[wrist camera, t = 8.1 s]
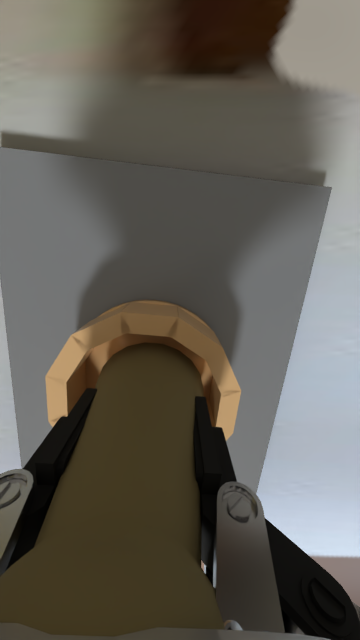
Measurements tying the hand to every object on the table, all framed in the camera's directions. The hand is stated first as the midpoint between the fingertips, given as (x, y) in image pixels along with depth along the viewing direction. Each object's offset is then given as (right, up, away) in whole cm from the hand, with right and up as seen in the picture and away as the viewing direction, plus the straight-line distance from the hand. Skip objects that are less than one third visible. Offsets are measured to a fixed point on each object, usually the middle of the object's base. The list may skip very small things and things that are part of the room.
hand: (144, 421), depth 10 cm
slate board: (0, +1, +5) cm, 5 cm away
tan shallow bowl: (0, +1, +4) cm, 4 cm away
